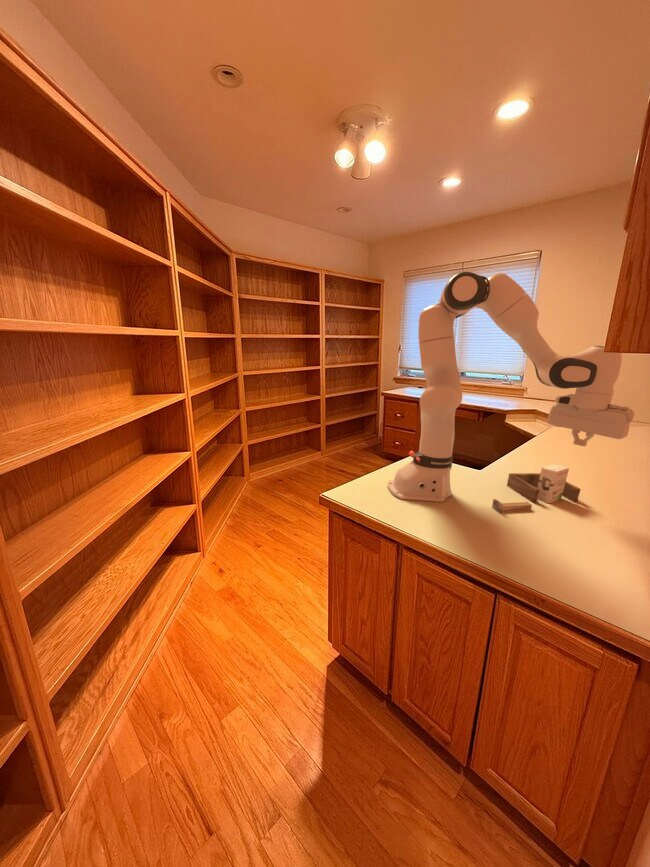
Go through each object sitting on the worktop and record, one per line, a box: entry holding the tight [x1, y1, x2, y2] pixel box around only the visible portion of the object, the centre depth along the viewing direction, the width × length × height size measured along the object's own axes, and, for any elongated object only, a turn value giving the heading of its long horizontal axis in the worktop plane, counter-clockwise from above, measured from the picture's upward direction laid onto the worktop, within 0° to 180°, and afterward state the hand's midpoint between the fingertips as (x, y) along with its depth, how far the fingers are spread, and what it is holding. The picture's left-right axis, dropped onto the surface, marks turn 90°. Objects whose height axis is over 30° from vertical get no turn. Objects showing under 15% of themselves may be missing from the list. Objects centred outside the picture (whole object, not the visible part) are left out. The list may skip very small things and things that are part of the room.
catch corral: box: [506, 472, 581, 504], centre depth 118 cm, size 16×14×5 cm
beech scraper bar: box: [491, 498, 533, 514], centre depth 105 cm, size 4×12×3 cm, turn 98°
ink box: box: [537, 463, 570, 504], centre depth 113 cm, size 9×5×12 cm, turn 120°
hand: (579, 445), depth 102 cm, fingers closed
